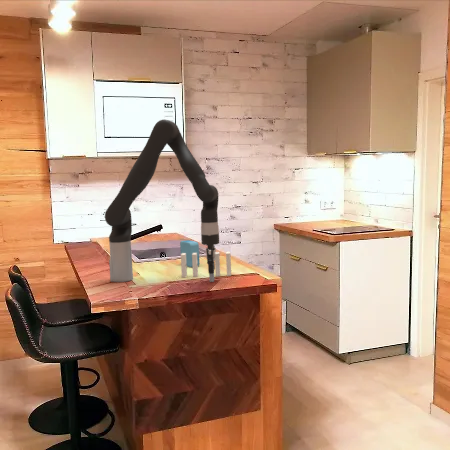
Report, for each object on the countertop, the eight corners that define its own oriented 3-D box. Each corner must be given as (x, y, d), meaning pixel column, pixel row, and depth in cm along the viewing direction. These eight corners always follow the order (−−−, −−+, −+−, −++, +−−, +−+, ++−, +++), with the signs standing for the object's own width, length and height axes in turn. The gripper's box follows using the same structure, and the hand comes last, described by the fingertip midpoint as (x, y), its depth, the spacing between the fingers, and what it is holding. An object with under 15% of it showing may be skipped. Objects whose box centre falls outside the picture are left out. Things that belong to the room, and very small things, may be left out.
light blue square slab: (199, 266, 247) (198, 242, 246) (191, 267, 245) (190, 243, 244) (189, 263, 258) (187, 239, 256) (181, 264, 255) (179, 240, 254)
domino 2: (192, 277, 223) (191, 254, 222) (194, 274, 228) (192, 252, 227) (197, 276, 223) (196, 254, 222) (198, 274, 228) (197, 252, 227)
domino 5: (226, 275, 222) (225, 253, 221) (227, 273, 227) (226, 251, 226) (231, 275, 222) (230, 253, 221) (231, 273, 227) (230, 251, 226)
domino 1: (181, 277, 223) (180, 255, 222) (183, 275, 228) (181, 253, 227) (185, 277, 223) (184, 254, 222) (187, 274, 228) (186, 253, 227)
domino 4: (215, 276, 222) (214, 253, 221) (216, 274, 227) (215, 252, 226) (219, 276, 222) (218, 253, 221) (220, 273, 227) (219, 251, 226)
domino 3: (209, 281, 212) (208, 258, 210) (210, 279, 217) (209, 256, 215) (213, 281, 212) (212, 258, 210) (214, 279, 216) (213, 256, 215)
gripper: (202, 231, 219) (204, 268, 221) (199, 235, 205) (201, 275, 207) (219, 230, 219) (221, 268, 221) (218, 234, 205) (219, 274, 206)
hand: (211, 271), depth 214 cm, fingers open, 7 cm apart
